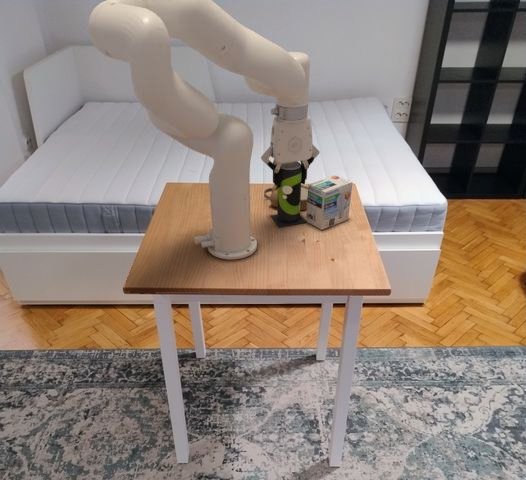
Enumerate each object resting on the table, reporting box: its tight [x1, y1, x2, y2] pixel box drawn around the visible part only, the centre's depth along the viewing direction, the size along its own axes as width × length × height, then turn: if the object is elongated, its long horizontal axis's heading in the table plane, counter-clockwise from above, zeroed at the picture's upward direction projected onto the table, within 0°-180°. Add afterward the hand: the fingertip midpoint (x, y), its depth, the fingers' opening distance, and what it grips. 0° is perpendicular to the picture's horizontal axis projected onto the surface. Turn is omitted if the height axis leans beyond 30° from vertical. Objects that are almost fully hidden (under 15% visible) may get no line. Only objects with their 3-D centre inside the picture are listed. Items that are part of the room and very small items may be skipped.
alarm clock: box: [263, 184, 308, 211], centre depth 146 cm, size 11×5×15 cm
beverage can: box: [276, 161, 302, 222], centre depth 134 cm, size 6×6×15 cm
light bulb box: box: [305, 174, 353, 231], centre depth 135 cm, size 11×7×11 cm, turn 129°
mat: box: [270, 214, 307, 228], centre depth 139 cm, size 8×7×1 cm
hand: (289, 183), depth 132 cm, fingers closed on beverage can, 6 cm apart
